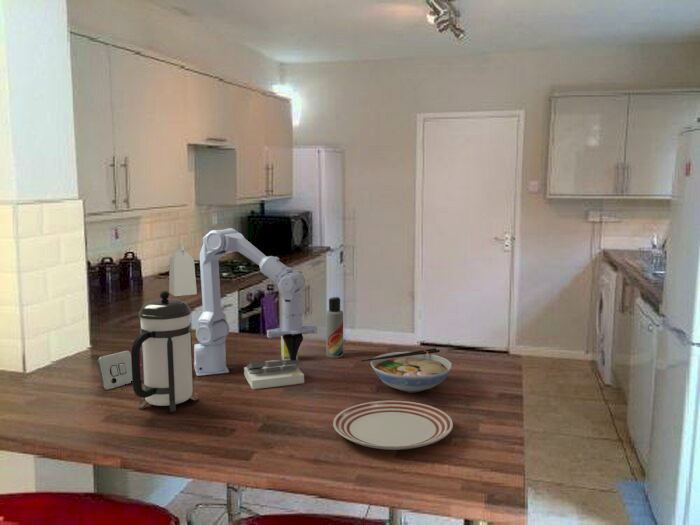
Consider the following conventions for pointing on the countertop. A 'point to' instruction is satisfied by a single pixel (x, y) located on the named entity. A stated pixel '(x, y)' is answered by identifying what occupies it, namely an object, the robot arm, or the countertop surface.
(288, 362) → the rocker right
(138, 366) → the coffee press
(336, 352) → the lotion bottle
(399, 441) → the dinner plate
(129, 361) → the electrical switch
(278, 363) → the rocker middle
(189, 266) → the milk
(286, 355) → the supplement bottle
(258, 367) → the panel
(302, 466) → the countertop surface
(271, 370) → the switch unit
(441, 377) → the ramen bowl
